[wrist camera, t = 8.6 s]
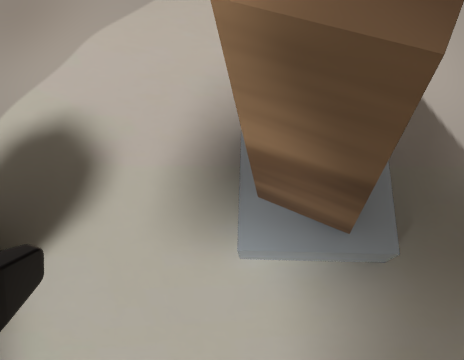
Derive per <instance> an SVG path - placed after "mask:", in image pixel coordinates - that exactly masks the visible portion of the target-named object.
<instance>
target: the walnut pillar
mask: <svg viewBox="0 0 464 360" xmlns="http://www.w3.org/2000/svg"><path fill="white" fill-rule="evenodd" d="M463 2H464V0H211V4H212V8H213V12H214V16H215V21H216V25H217V29H218V33H219V37H220V41H221V46H222V50H223V54H224V58H225V62H226V66H227V71H228V75H229V79H230V83H231V87H232V91H233V96H234V100H235V104H236V108H237V112H238V116H239V121H240V125H241V129H242V133H243V137H244V141H245V146H246V150H247V154H248V158H249V162H250V166H251V170H252V175H253V179H254V183H255V187H256V191H257V195H258V197H259V198H262V199H264V200H267V201H269V202H271V203H274V204H276V205H279V206H281V207H284V208H286V209H289V210H291V211H294V212H296V213H298V214H301V215H303V216H306V217H308V218H311V219H313V220H316V221H318V222H320V223H323V224H325V225H328V226H330V227H333V228H335V229H338V230H340V231H343V232H345V233H347V234H350V232H351V230H352V228H353V226H354V225H355V223H356V221H357V219H358V217H359V215H360V213H361V211H362V209H363V207H364V206H365V204H366V202H367V200H368V198H369V196H370V194H371V192H372V190H373V189H374V187H375V185H376V183H377V181H378V179H379V177H380V175H381V173H382V172H383V170H384V168H385V166H386V164H387V162H388V160H389V158H390V156H391V154H392V153H393V151H394V149H395V147H396V145H397V143H398V141H399V139H400V137H401V136H402V134H403V132H404V130H405V128H406V126H407V124H408V122H409V120H410V118H411V117H412V115H413V113H414V111H415V109H416V107H417V105H418V103H419V101H420V100H421V98H422V96H423V93H424V92H425V90H426V88H427V86H428V84H429V82H430V81H431V79H432V77H433V75H434V73H435V71H436V69H437V67H438V65H439V63H440V62H441V60H442V58H443V56H444V54H445V51H446V48H447V46H448V43H449V40H450V37H451V35H452V32H453V29H454V26H455V24H456V21H457V18H458V16H459V13H460V10H461V7H462V5H463Z"/></svg>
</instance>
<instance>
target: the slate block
mask: <svg viewBox="0 0 464 360" xmlns="http://www.w3.org/2000/svg"><path fill="white" fill-rule="evenodd" d="M237 251H238V254H239V257H240V259H264V260H303V261H343V262H383V263H385V262H387V261H388V260H390V259H392V258H394V257H396V256H398V255H400V251H399V243H398V235H397V226H396V218H395V210H394V201H393V193H392V185H391V176H390V168H389V160H388V162H387V164H386V166H385V168H384V170H383V172H382V173H381V175H380V177H379V179H378V181H377V183H376V185H375V187H374V189H373V190H372V192H371V194H370V196H369V198H368V200H367V202H366V204H365V206H364V207H363V209H362V211H361V213H360V215H359V217H358V219H357V221H356V223H355V225H354V226H353V228H352V230H351V232H350V234H347V233H345V232H343V231H340V230H338V229H335V228H333V227H330V226H328V225H325V224H323V223H320V222H318V221H316V220H313V219H311V218H308V217H306V216H303V215H301V214H298V213H296V212H294V211H291V210H289V209H286V208H284V207H281V206H279V205H276V204H274V203H271V202H269V201H267V200H264V199H262V198H259V197H258V195H257V191H256V187H255V183H254V179H253V175H252V170H251V166H250V162H249V158H248V154H247V150H246V146H245V141H244V137H243V133H242V129H241V155H240V186H239V217H238V248H237Z"/></svg>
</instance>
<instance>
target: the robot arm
mask: <svg viewBox="0 0 464 360" xmlns="http://www.w3.org/2000/svg"><path fill="white" fill-rule="evenodd" d="M43 276H44V253H43V250H42V249H41V248H39V247H36V246H33V245H31V244H24V245H20V246H17V247H13V248H9V249H5V250H1V251H0V332H1V330H2V329H3V328H4V327H5V326H6V325H7V323H8V322H9V321H10V320H11V318H12V317H13V316H14V315H15V314H16V312H17V311H18V310H19V309H20V307H21V306H22V305H23V304H24V302H25V301H26V300H27V299H28V297H29V296H30V295H31V294H32V292H33V291H34V290H35V289H36V287H37V286H38V285H39V284H40V282H41V281H42V279H43Z"/></svg>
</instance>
